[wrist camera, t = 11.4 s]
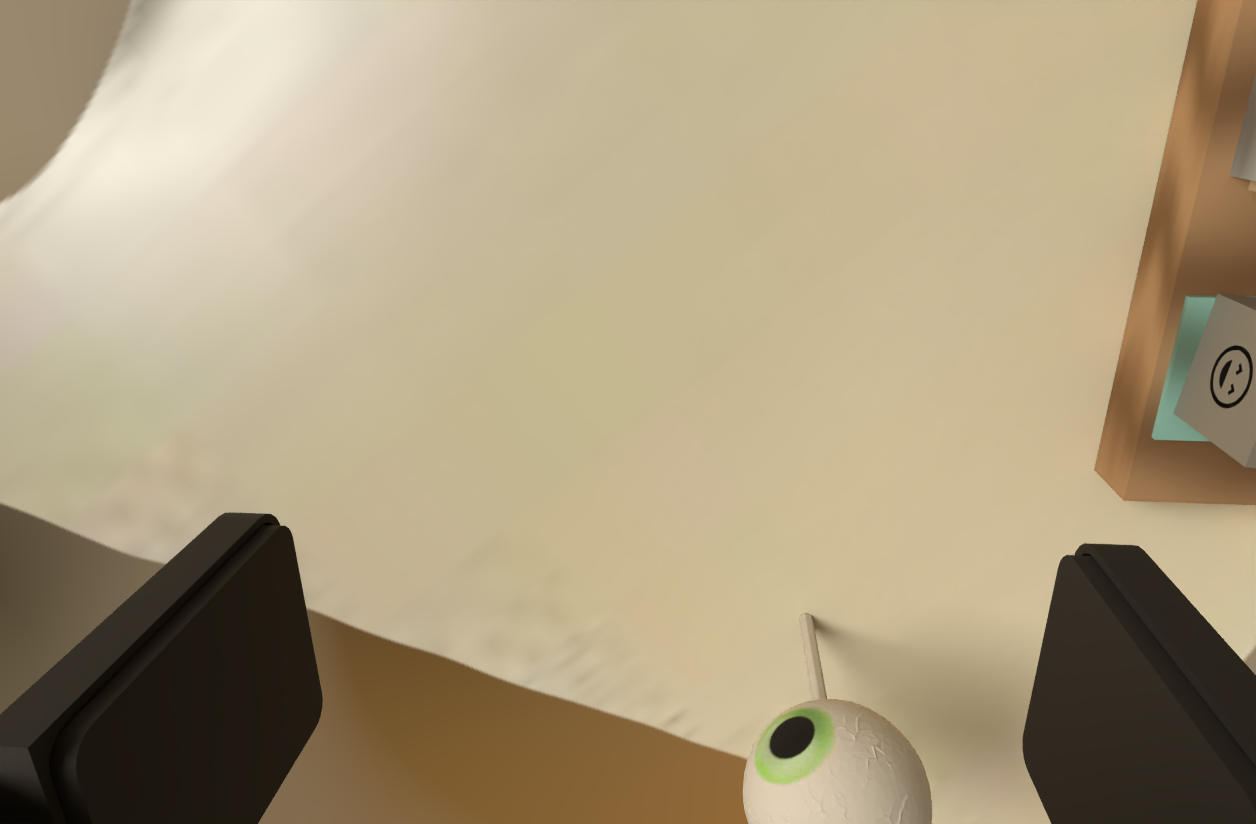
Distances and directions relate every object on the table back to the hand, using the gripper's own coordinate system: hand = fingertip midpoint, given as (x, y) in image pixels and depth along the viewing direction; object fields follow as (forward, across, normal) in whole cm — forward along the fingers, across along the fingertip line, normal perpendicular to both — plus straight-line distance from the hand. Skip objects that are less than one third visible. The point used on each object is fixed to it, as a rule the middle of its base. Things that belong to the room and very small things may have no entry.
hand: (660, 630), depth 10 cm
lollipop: (+28, -6, +20) cm, 35 cm away
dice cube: (+25, -22, +5) cm, 34 cm away
